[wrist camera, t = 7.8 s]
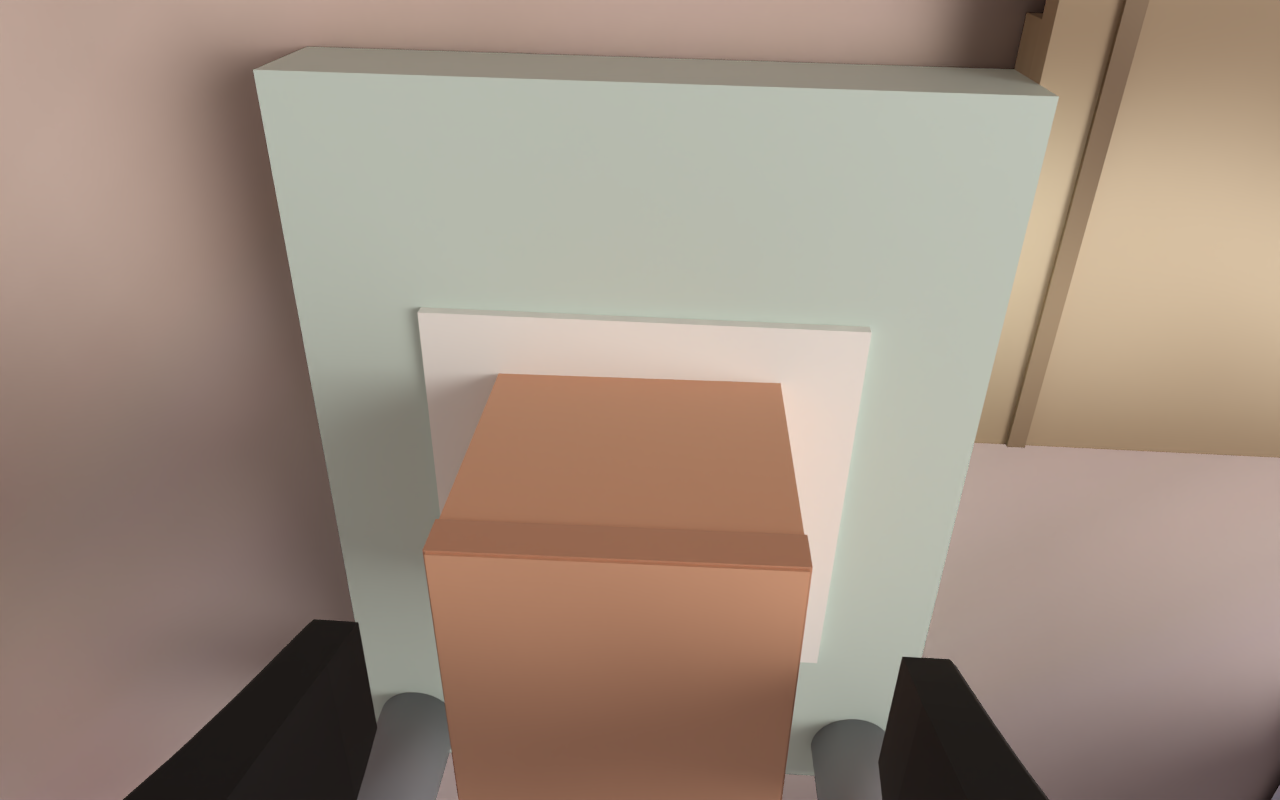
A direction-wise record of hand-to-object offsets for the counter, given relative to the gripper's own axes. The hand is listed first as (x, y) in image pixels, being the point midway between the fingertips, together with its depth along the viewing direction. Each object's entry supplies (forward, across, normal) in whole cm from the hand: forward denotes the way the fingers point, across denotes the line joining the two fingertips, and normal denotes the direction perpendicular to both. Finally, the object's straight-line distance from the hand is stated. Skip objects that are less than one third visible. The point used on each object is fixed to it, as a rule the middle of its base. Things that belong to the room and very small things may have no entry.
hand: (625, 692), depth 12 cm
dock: (+6, 0, 0) cm, 6 cm away
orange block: (+4, 0, 0) cm, 4 cm away
